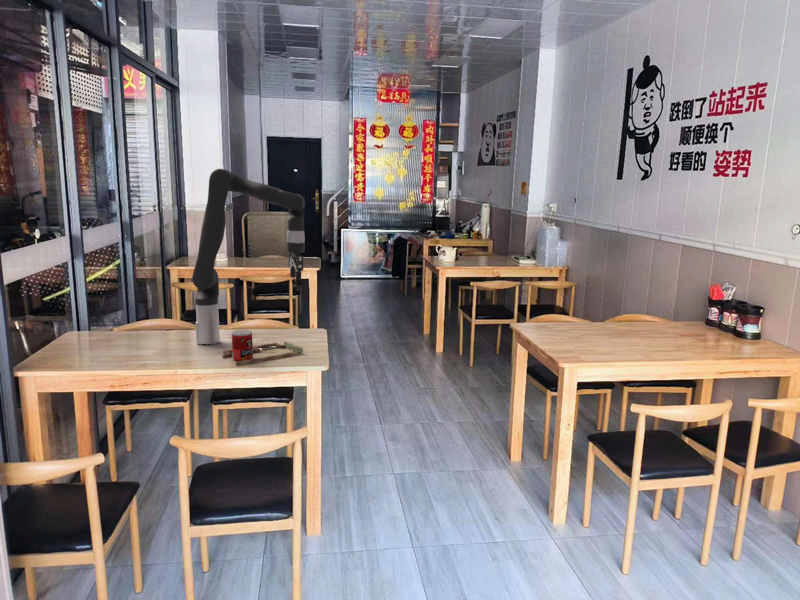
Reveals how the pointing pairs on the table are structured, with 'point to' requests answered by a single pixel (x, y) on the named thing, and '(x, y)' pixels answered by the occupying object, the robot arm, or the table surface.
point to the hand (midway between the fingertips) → (295, 278)
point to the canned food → (242, 345)
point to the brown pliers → (265, 347)
